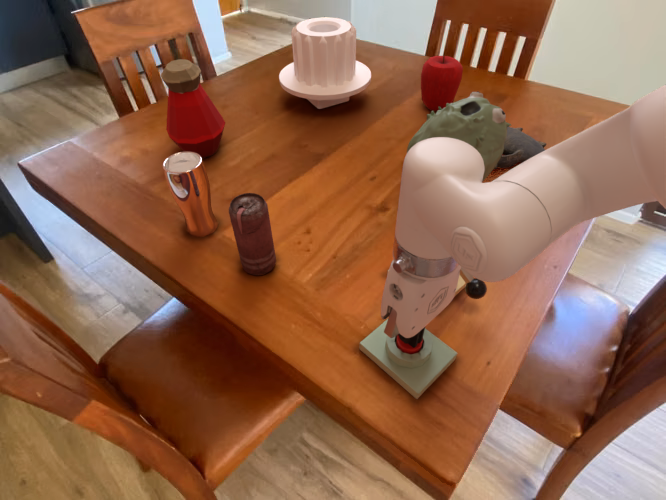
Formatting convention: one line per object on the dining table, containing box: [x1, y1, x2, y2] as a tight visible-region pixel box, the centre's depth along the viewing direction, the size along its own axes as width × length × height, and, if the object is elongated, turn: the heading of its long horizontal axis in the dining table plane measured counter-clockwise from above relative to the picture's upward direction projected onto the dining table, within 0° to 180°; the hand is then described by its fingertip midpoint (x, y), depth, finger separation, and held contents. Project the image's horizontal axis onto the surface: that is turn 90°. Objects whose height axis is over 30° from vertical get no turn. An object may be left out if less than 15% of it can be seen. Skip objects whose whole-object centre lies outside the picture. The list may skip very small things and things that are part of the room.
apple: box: [420, 55, 464, 112], centre depth 113 cm, size 11×10×14 cm
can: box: [228, 192, 277, 276], centre depth 72 cm, size 6×6×14 cm
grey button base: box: [358, 318, 458, 400], centre depth 63 cm, size 11×9×4 cm
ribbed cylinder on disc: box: [278, 16, 372, 110], centre depth 115 cm, size 25×25×19 cm
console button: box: [396, 336, 423, 354], centre depth 62 cm, size 4×4×2 cm
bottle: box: [160, 59, 226, 160], centre depth 98 cm, size 16×14×20 cm
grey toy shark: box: [493, 126, 547, 170], centre depth 98 cm, size 5×25×15 cm
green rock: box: [406, 91, 512, 183], centre depth 85 cm, size 16×19×20 cm
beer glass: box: [162, 151, 219, 238], centre depth 79 cm, size 7×7×15 cm
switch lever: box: [459, 267, 488, 300], centre depth 67 cm, size 13×3×3 cm
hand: (409, 338), depth 61 cm, fingers closed
